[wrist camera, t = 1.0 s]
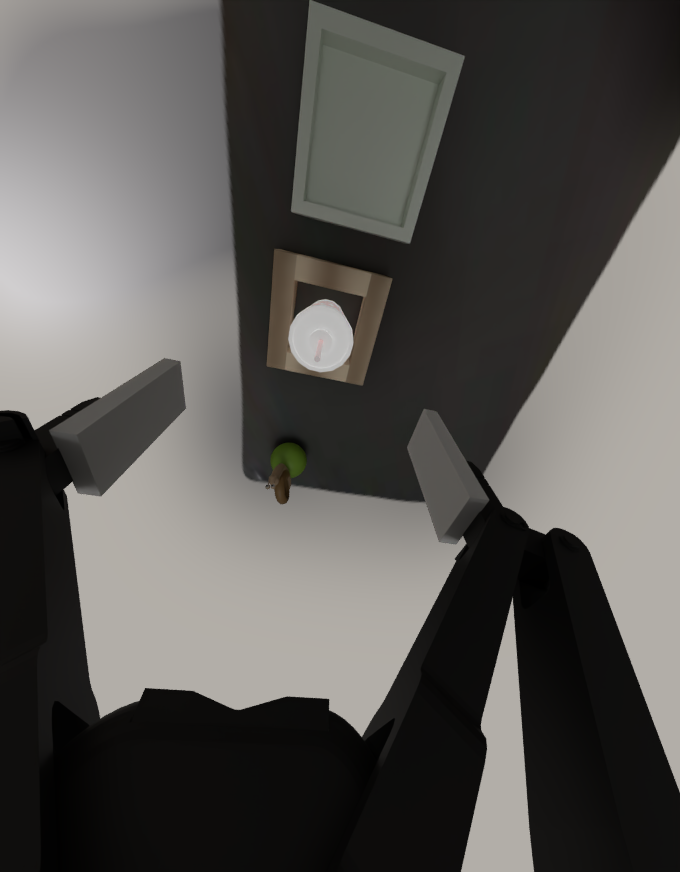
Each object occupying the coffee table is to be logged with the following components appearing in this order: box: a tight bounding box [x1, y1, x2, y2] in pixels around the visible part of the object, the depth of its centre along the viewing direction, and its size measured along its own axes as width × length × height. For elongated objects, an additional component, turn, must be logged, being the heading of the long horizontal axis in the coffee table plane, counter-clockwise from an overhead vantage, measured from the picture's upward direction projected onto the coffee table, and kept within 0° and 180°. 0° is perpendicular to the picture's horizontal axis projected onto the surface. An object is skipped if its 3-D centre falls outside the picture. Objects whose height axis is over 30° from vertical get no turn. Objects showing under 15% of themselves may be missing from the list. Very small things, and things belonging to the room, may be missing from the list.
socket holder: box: [267, 249, 392, 386], centre depth 32 cm, size 12×12×3 cm
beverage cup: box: [288, 299, 354, 372], centre depth 27 cm, size 6×6×14 cm
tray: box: [291, 0, 465, 244], centre depth 24 cm, size 12×12×2 cm
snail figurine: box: [266, 443, 307, 504], centre depth 39 cm, size 5×6×12 cm
